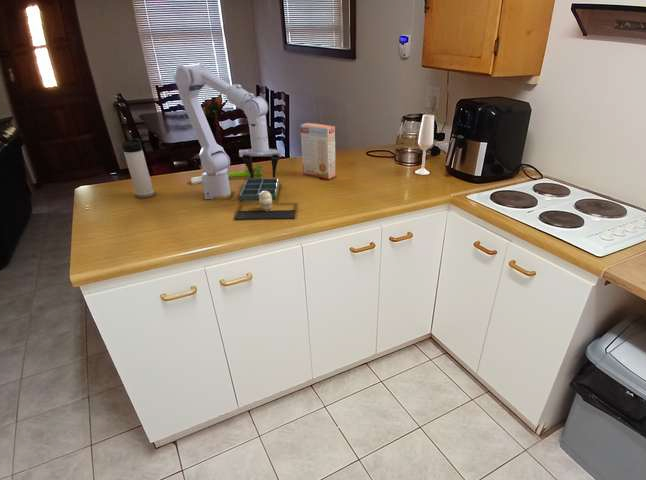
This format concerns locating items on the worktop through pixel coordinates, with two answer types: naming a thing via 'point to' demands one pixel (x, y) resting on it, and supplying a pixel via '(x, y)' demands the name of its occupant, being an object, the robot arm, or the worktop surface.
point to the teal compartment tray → (259, 188)
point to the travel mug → (138, 168)
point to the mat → (265, 215)
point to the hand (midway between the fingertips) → (263, 176)
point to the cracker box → (318, 150)
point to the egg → (265, 200)
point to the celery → (235, 175)
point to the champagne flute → (426, 139)
